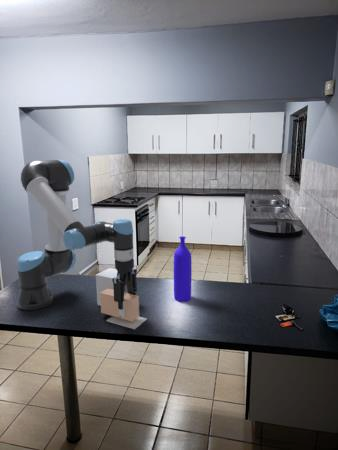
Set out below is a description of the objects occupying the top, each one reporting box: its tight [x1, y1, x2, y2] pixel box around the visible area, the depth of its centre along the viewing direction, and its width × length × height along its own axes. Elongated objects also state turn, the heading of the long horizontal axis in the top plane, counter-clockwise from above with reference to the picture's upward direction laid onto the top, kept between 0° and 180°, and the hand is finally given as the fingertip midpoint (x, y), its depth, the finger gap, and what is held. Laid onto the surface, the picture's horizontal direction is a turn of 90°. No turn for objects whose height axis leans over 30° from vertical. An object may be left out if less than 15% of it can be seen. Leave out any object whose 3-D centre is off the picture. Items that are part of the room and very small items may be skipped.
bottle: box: [173, 236, 192, 303], centre depth 156 cm, size 8×8×30 cm
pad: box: [106, 316, 148, 330], centre depth 140 cm, size 14×9×1 cm, turn 61°
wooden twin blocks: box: [100, 289, 140, 321], centre depth 140 cm, size 16×5×9 cm, turn 61°
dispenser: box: [95, 267, 128, 307], centre depth 154 cm, size 13×10×14 cm
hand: (126, 312), depth 139 cm, fingers closed on wooden twin blocks, 5 cm apart
